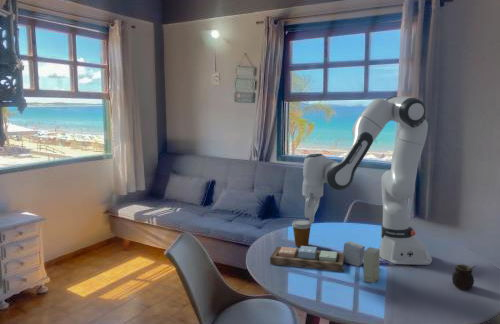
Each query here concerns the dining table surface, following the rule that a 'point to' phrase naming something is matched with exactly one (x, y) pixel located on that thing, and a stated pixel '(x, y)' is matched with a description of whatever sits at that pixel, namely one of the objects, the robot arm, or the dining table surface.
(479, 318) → the dining table surface
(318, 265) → the key frame
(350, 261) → the medicine box
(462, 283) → the mate gourd
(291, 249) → the tile three
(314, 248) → the tile two
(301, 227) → the disposable coffee cup
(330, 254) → the tile one
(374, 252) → the skincare box
